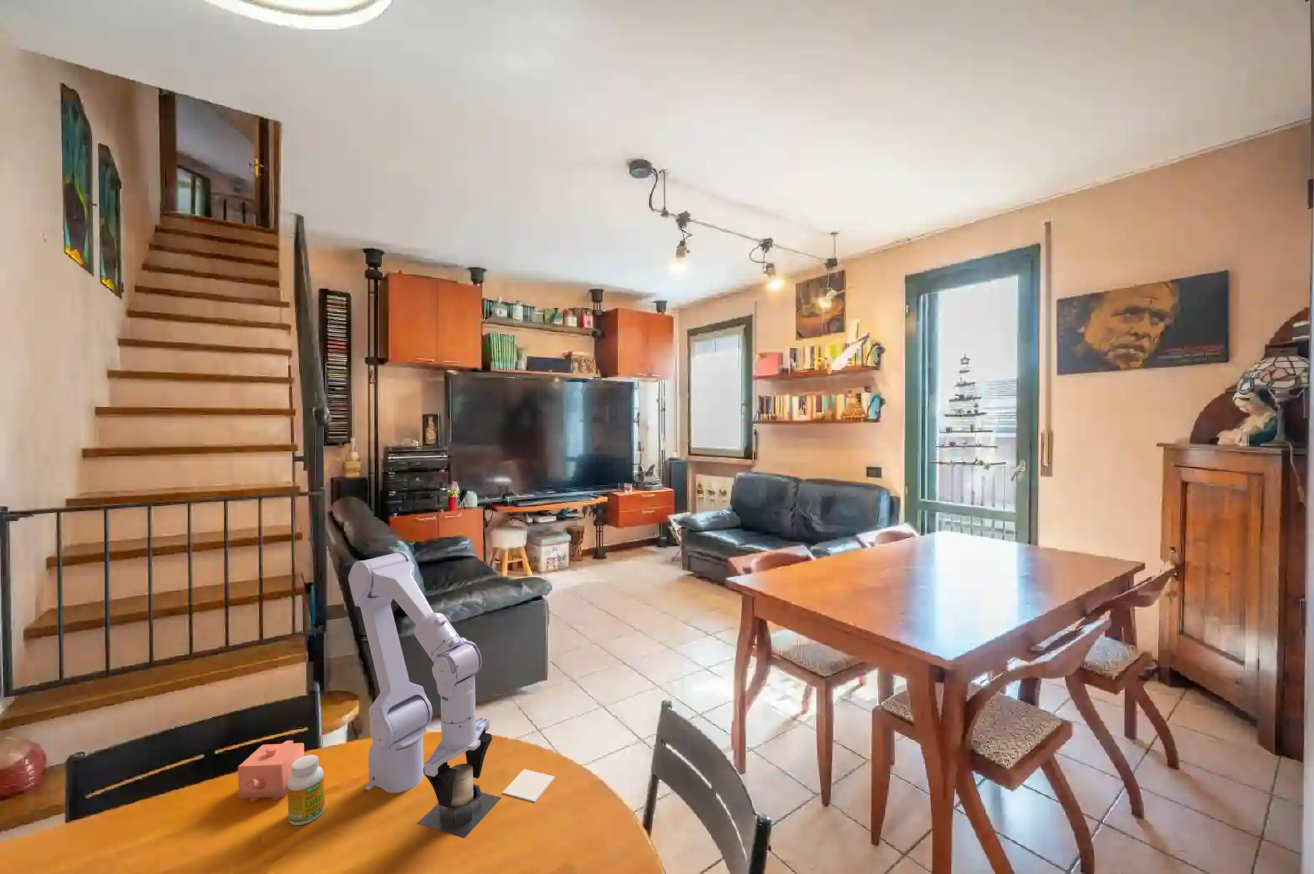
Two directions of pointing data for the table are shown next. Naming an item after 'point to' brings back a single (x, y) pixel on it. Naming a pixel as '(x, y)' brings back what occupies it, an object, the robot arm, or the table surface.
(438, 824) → the housing
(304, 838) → the table surface
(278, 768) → the pink cube teapot
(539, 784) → the tile pad
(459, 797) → the tan cylinder
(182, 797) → the table surface
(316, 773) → the supplement bottle
